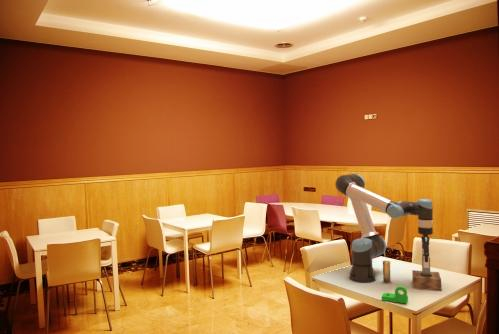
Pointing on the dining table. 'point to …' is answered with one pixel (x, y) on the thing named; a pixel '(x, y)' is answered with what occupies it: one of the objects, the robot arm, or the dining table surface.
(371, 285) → the dining table surface
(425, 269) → the square bit
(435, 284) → the bore block
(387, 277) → the round bit
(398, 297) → the mechanical part
